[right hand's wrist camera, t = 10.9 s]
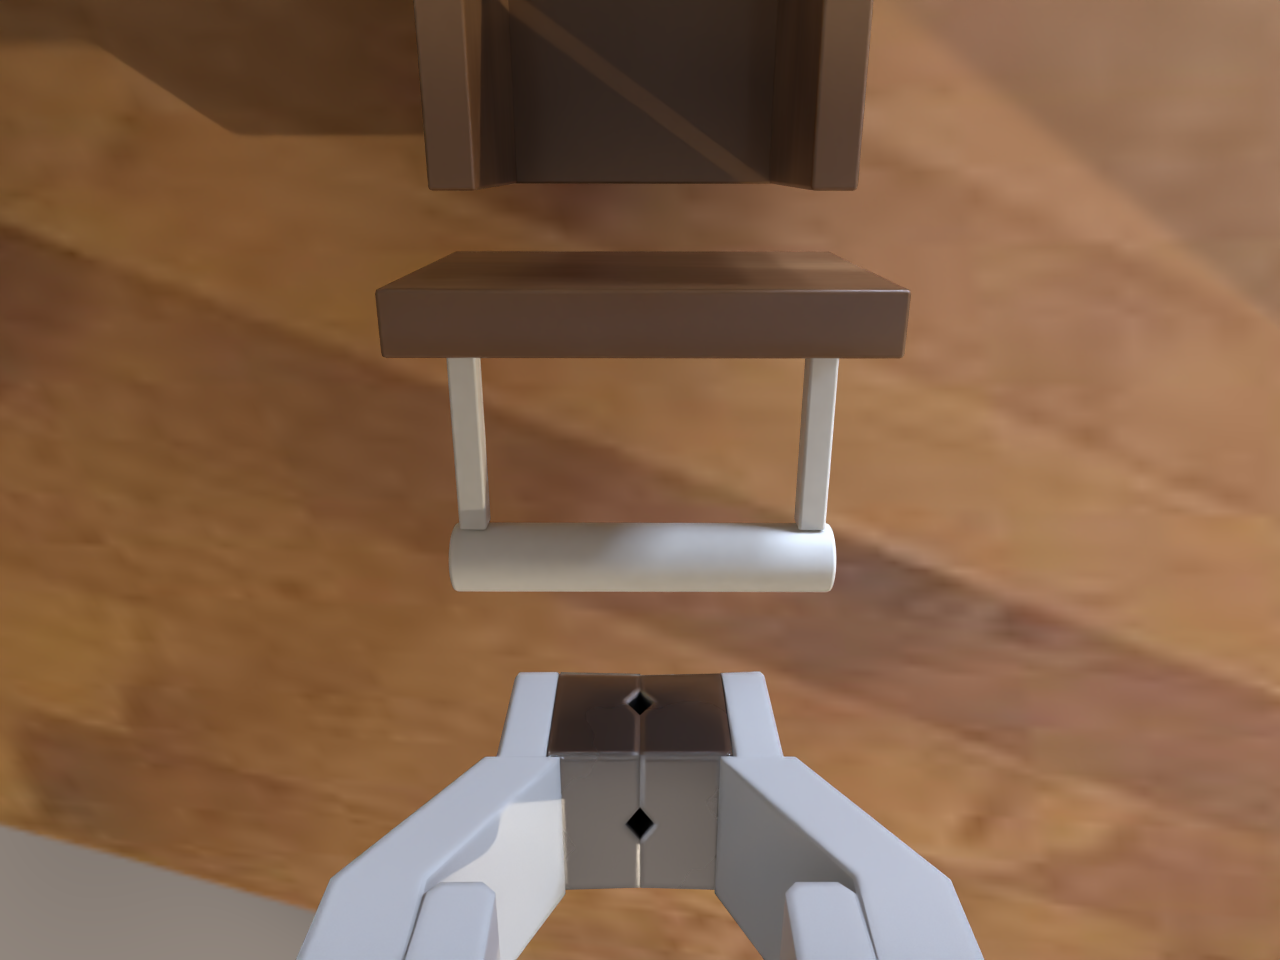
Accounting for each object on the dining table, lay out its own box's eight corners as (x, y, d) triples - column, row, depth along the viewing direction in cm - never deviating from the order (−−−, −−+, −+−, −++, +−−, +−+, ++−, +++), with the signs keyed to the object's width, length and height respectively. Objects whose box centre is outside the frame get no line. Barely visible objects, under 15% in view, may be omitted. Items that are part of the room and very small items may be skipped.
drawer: (811, 520, 23) (873, 652, 17) (473, 519, 23) (411, 650, 17) (903, -705, 15) (1086, -1311, 9) (384, -704, 15) (205, -1309, 9)
